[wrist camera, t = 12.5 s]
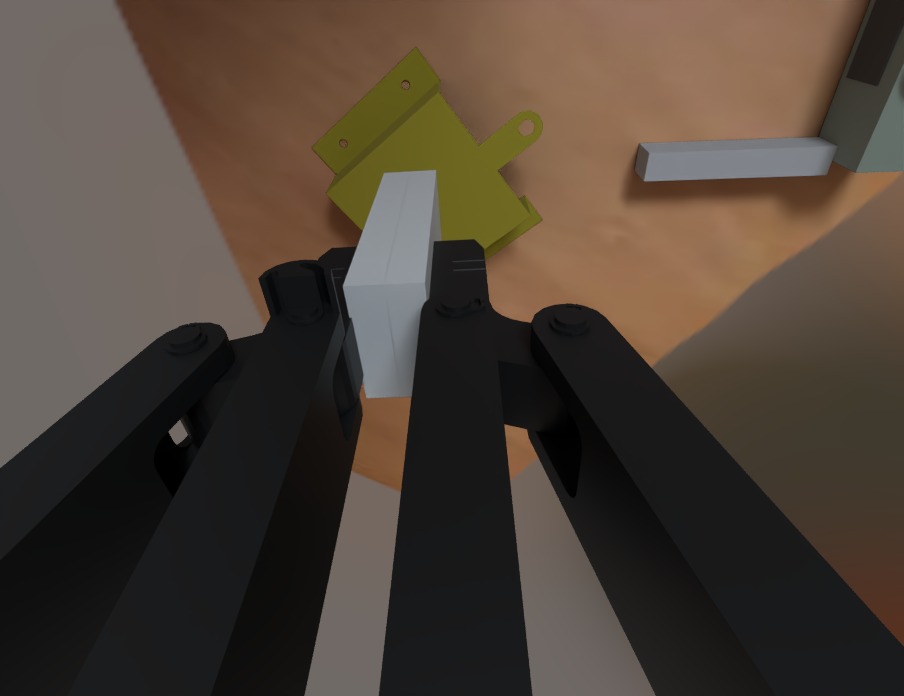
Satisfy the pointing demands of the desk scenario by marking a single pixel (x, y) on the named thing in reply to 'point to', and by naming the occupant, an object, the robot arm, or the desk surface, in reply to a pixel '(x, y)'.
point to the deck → (842, 135)
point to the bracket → (429, 157)
